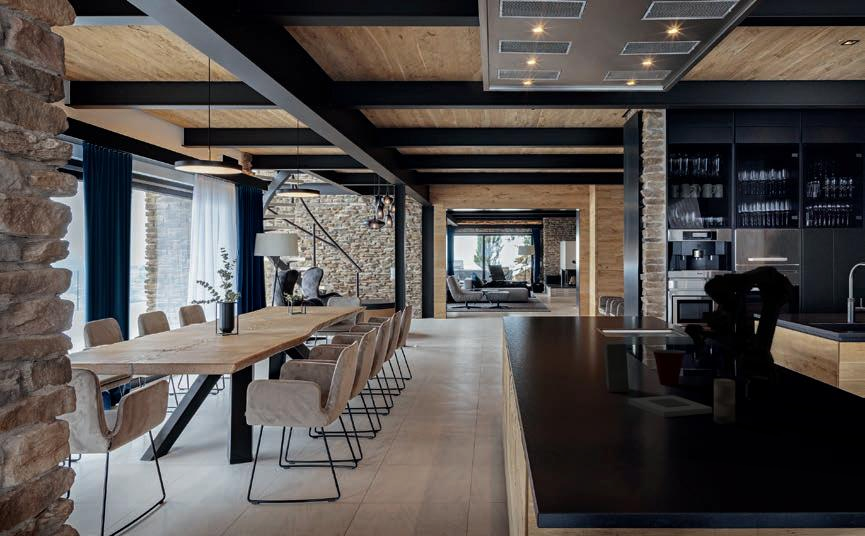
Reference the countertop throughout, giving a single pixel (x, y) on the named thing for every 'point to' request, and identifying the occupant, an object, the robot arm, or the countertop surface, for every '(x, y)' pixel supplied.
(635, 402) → the sage board
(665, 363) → the plastic cup
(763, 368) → the robot arm
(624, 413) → the countertop surface
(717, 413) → the ash sleeve
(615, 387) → the skincare box
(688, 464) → the countertop surface
